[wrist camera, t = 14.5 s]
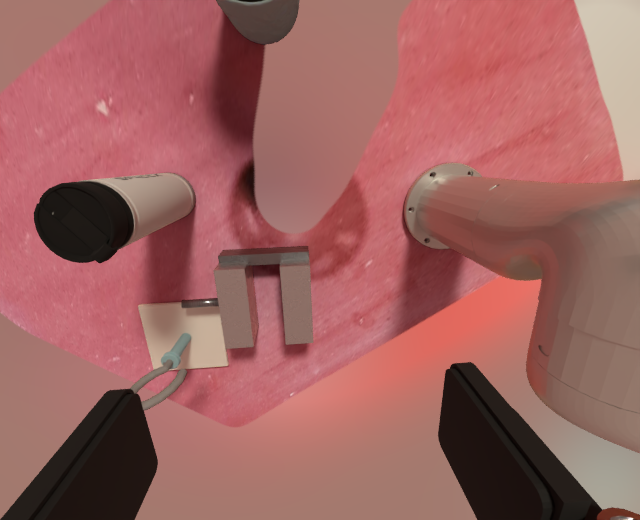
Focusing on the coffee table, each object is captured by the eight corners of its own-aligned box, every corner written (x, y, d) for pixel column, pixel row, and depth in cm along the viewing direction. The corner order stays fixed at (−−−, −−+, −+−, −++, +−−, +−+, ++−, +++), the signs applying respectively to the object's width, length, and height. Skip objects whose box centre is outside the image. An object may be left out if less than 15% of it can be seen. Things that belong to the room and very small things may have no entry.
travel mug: (177, 229, 43) (82, 283, 24) (139, 194, 41) (4, 222, 22) (207, 200, 42) (134, 232, 23) (170, 162, 40) (56, 164, 21)
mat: (218, 299, 47) (218, 301, 46) (228, 363, 51) (227, 366, 50) (139, 304, 46) (137, 306, 45) (155, 369, 50) (154, 371, 49)
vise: (307, 245, 45) (309, 258, 39) (311, 321, 49) (313, 342, 44) (181, 252, 44) (164, 265, 38) (196, 329, 48) (182, 351, 42)
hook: (206, 322, 47) (166, 391, 33) (212, 335, 48) (177, 408, 34) (159, 337, 47) (101, 412, 33) (167, 350, 48) (113, 429, 34)
